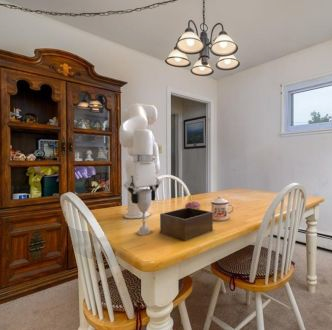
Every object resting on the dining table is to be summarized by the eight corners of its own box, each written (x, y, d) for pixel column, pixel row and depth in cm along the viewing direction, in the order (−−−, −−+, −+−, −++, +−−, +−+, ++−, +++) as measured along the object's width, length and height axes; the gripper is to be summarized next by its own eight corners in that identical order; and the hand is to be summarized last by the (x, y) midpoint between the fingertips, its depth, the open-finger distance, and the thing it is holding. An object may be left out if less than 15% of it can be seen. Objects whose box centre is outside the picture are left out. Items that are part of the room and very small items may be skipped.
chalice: (146, 236, 89) (145, 191, 89) (131, 235, 91) (130, 191, 90) (156, 230, 97) (155, 189, 96) (142, 229, 98) (141, 188, 97)
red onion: (191, 217, 118) (191, 194, 117) (181, 214, 123) (181, 193, 123) (203, 214, 124) (203, 193, 124) (194, 211, 130) (194, 191, 129)
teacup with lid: (211, 221, 111) (211, 198, 110) (210, 216, 120) (210, 194, 119) (235, 220, 112) (235, 197, 112) (232, 215, 121) (232, 194, 121)
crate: (160, 232, 94) (160, 213, 94) (188, 223, 106) (188, 207, 106) (184, 240, 85) (184, 220, 84) (212, 230, 97) (212, 212, 97)
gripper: (156, 159, 102) (156, 197, 102) (117, 159, 88) (118, 204, 89) (166, 159, 97) (166, 199, 98) (127, 159, 83) (128, 206, 84)
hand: (143, 201), depth 93 cm, fingers closed on chalice, 7 cm apart
